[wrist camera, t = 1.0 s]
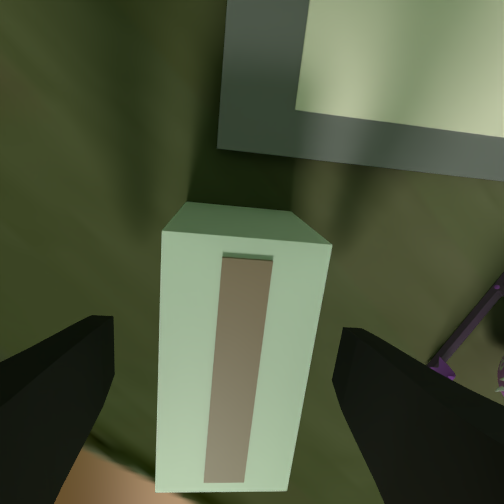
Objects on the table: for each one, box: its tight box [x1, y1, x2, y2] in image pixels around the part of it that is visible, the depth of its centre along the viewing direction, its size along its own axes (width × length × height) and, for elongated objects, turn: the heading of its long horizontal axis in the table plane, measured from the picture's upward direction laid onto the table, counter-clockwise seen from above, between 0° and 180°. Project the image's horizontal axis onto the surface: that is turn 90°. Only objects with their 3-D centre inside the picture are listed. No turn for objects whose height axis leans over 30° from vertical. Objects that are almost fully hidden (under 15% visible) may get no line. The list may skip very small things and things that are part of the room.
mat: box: [217, 0, 504, 181], centre depth 10 cm, size 16×11×1 cm
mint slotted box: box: [155, 202, 332, 492], centre depth 11 cm, size 4×8×5 cm, turn 174°
